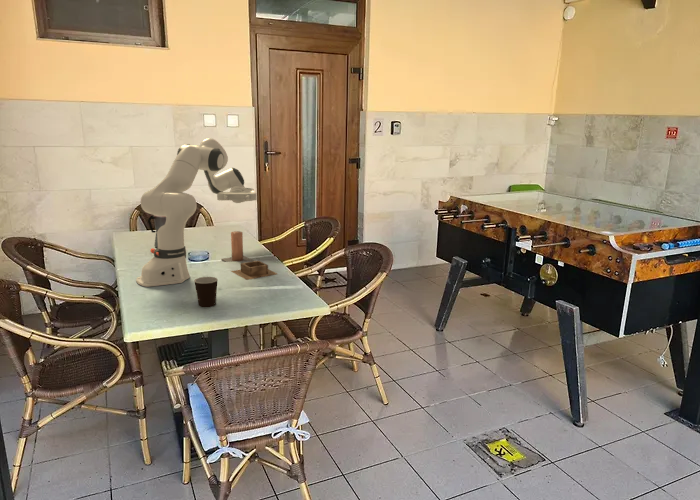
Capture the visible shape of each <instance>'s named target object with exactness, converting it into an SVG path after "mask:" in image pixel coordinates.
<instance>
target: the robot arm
mask: <svg viewBox="0 0 700 500" xmlns="http://www.w3.org/2000/svg"><path fill="white" fill-rule="evenodd" d="M228 161H229V157H228V154H227V152H226V150H225V148H224V147H223V145H221V144H220V143H219V141H217V140H216V139H214V138H212V137H211V138H209V137H208V138H205V139H203V140H202V141H201V142H200V144H198V145H196V144H190V143H187V144H185V143H184V144H182V145H181V146H179V148H178V149H177V153H176V156H175V158H174V161H173V163H172V165H171V166H170V168H169V171H168V172H167V174H166V175H165V177H164V178H163V179H162V180H161V181H160V182H159V183H158V184H157V185H156V186H154V187H152V189H150V190H147V191H146V192H145V191H144V193H143V194H142V196H141V198H140V207H141V209H142V211H144V212H145V213H147V214H150V215H151V216H154V215H158V216H166V223H165V225H163V226H161V227H160V228H159V229H158V231H157V238H158V247H156V249H155V247H154V248H150V253H151V254H153V257H152V258H151V259H150V260H149V261H148V262H147V263H145V264H144V265H143V266H142V268H141V275H140V276H138V277H136V278H135V279H136V283H137V284H139V285H140V286H142V287H145V288H146V287H148V288H149V287H150V288H151V287H158V286H165V285H174V284H182V283H184V282H185V281H186V280H189V279H190V277H191V276H190V275H191V274H190V272H189V269H188V263H187V249H186V246H185V228H186V224H187V221H189V219H190V218H191V217H192V216H193V215H194V214H195V213H196V210H197V206H198V205H197V200H196V198H195V197H194V196H193V195H192V194H189V193H186V192H185V191H187V190H189V189H190V188H191V187H192V185H193V182H194V181H195V179H196V177H197V174H198V171H200V170H201V171H203V173H204V176H205V178H206V181H207V185H208V188H209V190H210V191H211V193H213V194H216V197H217V201H232V203H235V204H241V203H245V202H252V201H257V200H258V198H257V197H258V195H257V191H256V190H255V189H254V188H252V187H251V188H250V187H245V179H244V177H243V174H242V173H241V172H240V171H239V170H238V169H237V168H235V167H230V168H228V169H226V170H223V169H224V168H225V167H226V166H227V165H228ZM221 170H223V171H222V172H220V171H221ZM218 172H220V173H218ZM216 173H217V174H216ZM229 189H230V191H227V190H229Z"/></svg>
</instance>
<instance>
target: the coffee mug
mask: <svg viewBox="0 0 700 500" xmlns="http://www.w3.org/2000/svg"><path fill="white" fill-rule="evenodd" d="M194 287H195V292H196V299H197V303H198V307H200V308H205V309H207V308H211V307H215V306H216V305H217V304H216V303H217V294H218V293H217V291H218V278H217V277H215V276H202V277H197V278H195V279H194Z"/></svg>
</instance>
